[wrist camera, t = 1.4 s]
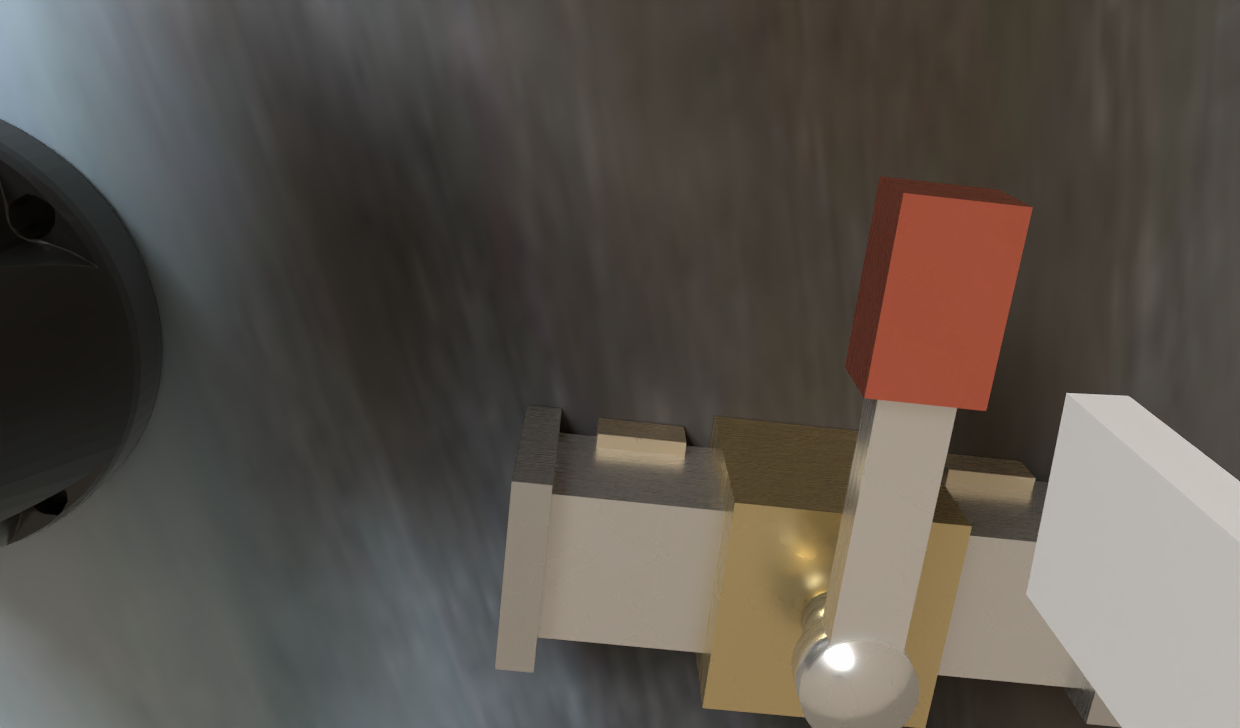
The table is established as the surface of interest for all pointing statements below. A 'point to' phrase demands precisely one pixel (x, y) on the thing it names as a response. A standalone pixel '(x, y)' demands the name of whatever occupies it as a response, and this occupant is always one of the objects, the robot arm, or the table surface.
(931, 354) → the valve lever
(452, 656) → the table surface
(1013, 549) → the valve pipe
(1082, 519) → the robot arm
